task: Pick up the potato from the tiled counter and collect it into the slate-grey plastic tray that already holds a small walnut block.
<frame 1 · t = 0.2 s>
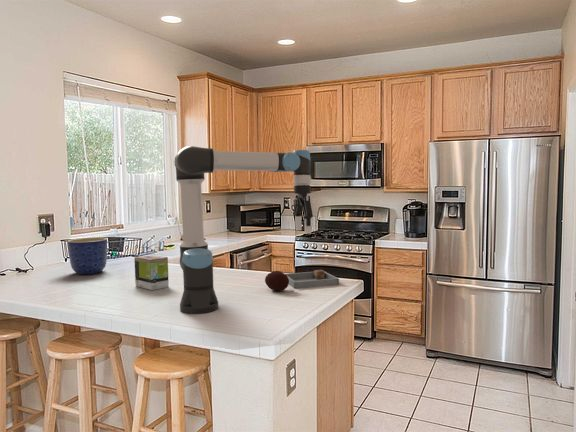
hand: (303, 231, 212), 27 cm above the countertop, fingers open, 13 cm apart
walnut block: (319, 278, 236), point 1 cm above the countertop, touching tray
tray: (310, 283, 229), on the countertop
planter: (89, 273, 265), on the countertop
tea box: (152, 287, 228), on the countertop
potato: (277, 291, 215), on the countertop
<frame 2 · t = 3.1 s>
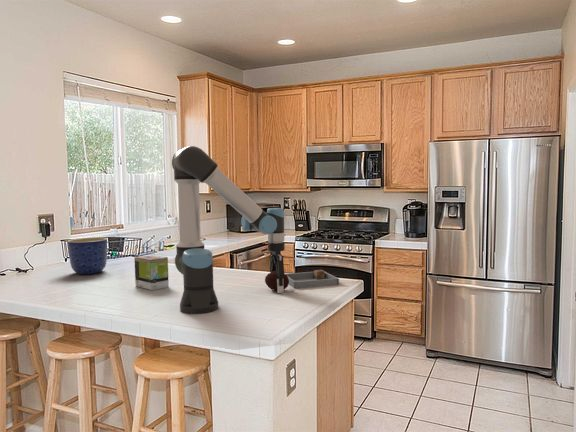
hand: (277, 290, 215), 0 cm above the countertop, fingers closed on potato, 10 cm apart
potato: (277, 291, 215), on the countertop, touching gripper
everything else where it was.
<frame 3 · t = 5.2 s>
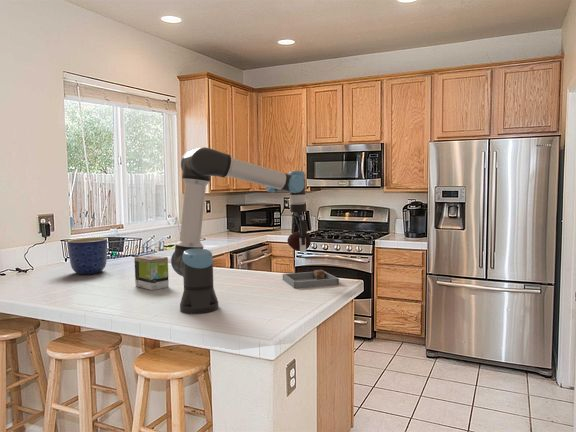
hand: (299, 250, 224), 17 cm above the countertop, fingers closed on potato, 10 cm apart
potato: (299, 251, 224), point 17 cm above the countertop, touching gripper
everything else where it was.
when the fingers open (4 cm above the countertop, at t = 7.8 s): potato drops 3 cm, resting on tray.
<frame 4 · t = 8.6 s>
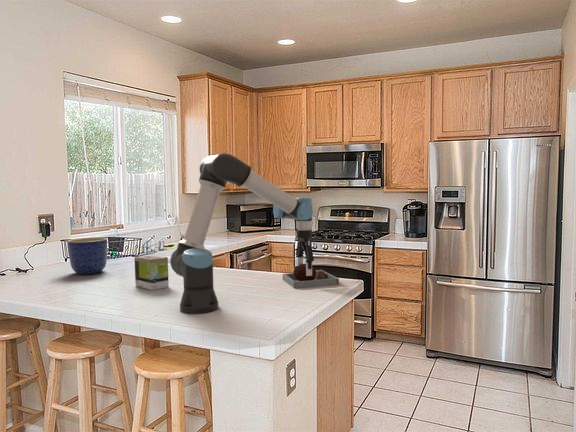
hand: (304, 273, 227), 5 cm above the countertop, fingers open, 13 cm apart
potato: (304, 282, 228), resting on tray
everything else where it was.
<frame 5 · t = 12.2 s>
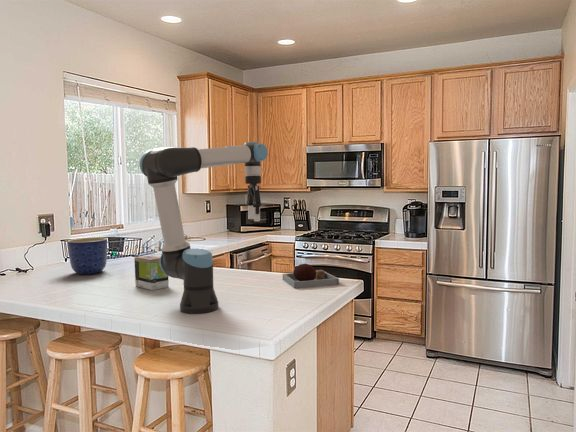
hand: (254, 220, 224), 32 cm above the countertop, fingers open, 13 cm apart
nothing on the countertop moved.
at the end: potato inside the target area on the tray (2.5 cm from its centre), point 0.4 cm above the tray's base; the gripper is holding nothing; walnut block moved 0.0 cm from its start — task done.
